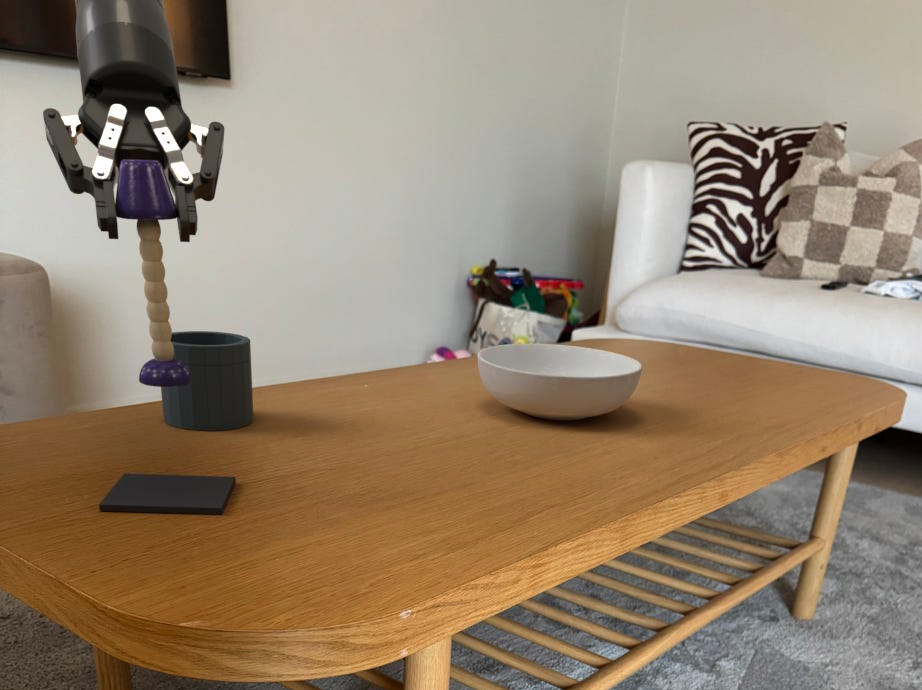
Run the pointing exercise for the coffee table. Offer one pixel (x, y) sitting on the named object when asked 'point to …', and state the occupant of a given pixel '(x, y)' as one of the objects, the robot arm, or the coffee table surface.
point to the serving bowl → (558, 379)
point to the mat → (169, 494)
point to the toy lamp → (152, 261)
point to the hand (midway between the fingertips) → (149, 232)
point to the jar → (211, 382)
